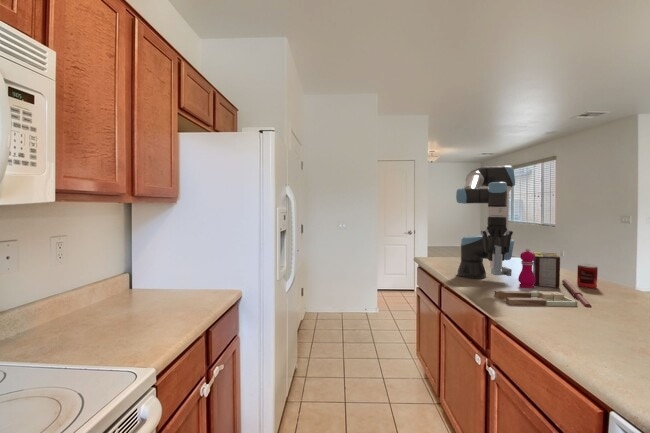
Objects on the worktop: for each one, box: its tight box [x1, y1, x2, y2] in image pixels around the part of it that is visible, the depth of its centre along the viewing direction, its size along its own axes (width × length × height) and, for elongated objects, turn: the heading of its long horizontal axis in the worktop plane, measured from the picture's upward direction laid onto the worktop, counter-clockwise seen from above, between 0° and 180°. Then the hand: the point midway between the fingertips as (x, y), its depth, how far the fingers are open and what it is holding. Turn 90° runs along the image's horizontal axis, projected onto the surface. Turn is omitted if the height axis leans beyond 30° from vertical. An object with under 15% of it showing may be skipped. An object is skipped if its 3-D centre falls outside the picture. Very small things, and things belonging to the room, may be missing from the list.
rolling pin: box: [561, 279, 592, 308], centre depth 145 cm, size 45×3×3 cm, turn 152°
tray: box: [529, 291, 578, 307], centre depth 133 cm, size 14×12×3 cm
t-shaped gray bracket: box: [490, 246, 513, 277], centre depth 143 cm, size 6×7×13 cm
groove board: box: [494, 290, 547, 307], centre depth 134 cm, size 14×14×3 cm
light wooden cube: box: [548, 291, 565, 301], centre depth 133 cm, size 4×4×4 cm
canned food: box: [576, 263, 599, 290], centre depth 158 cm, size 8×8×11 cm
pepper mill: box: [517, 248, 536, 289], centre depth 155 cm, size 7×7×20 cm
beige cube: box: [536, 291, 553, 301], centre depth 133 cm, size 4×4×4 cm
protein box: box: [532, 251, 561, 289], centre depth 164 cm, size 10×15×16 cm
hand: (495, 267), depth 143 cm, fingers closed on t-shaped gray bracket, 3 cm apart
